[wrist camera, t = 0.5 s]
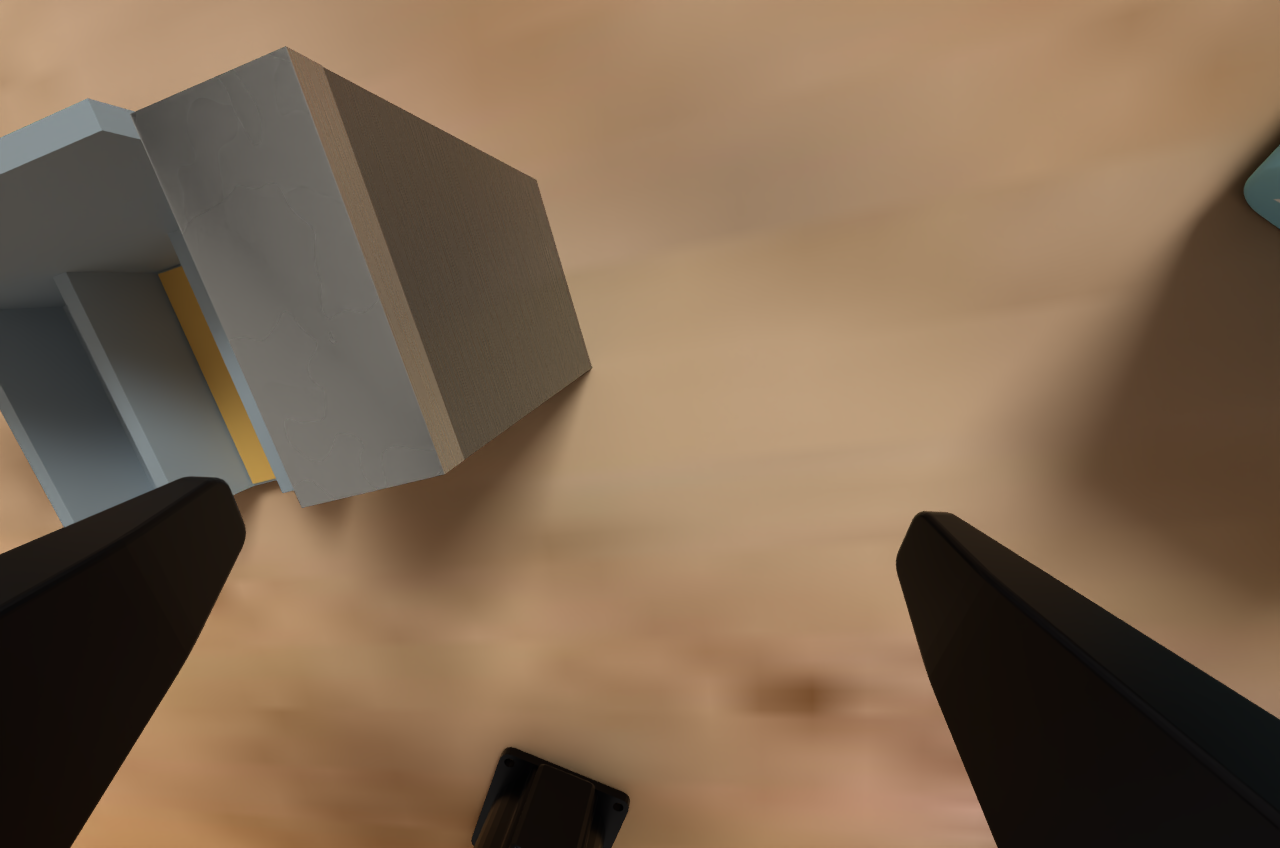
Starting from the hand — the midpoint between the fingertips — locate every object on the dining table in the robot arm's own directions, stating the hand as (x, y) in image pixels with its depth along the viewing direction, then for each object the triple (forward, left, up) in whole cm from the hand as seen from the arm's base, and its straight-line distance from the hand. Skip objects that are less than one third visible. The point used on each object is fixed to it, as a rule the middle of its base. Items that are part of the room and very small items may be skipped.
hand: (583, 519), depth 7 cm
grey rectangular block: (+1, +6, -14) cm, 15 cm away
